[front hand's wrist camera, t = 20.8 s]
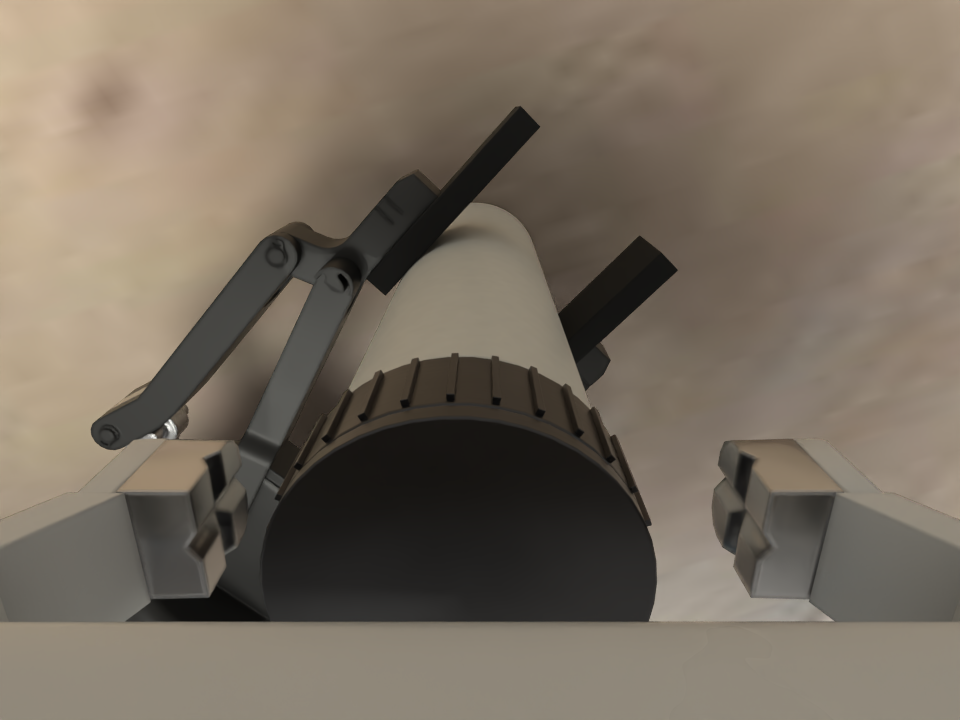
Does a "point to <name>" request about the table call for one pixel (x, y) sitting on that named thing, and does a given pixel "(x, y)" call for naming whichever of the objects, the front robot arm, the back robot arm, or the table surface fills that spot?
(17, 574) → the front robot arm
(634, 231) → the table surface
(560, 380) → the beige long cylinder
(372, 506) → the lid
